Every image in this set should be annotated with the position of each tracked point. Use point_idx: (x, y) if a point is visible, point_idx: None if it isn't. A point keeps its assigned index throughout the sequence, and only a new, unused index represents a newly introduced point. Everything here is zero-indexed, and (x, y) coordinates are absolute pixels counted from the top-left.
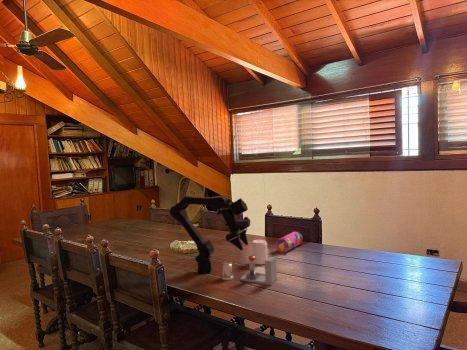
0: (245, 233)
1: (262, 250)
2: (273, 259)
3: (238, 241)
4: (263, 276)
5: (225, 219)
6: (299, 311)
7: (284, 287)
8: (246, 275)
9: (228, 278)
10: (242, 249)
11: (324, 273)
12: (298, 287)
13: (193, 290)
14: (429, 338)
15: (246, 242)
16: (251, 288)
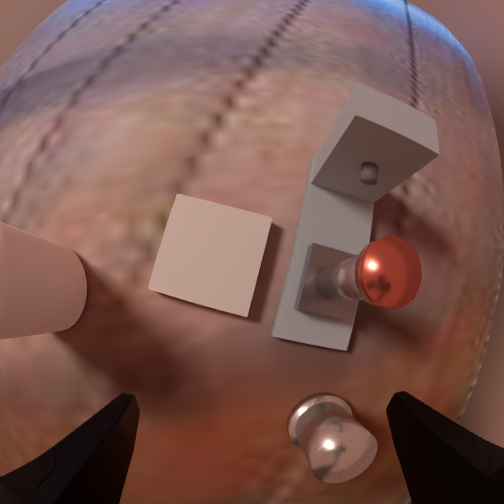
0: (17, 496)
1: (31, 252)
2: (397, 100)
3: (493, 456)
4: (303, 224)
5: None
6: (470, 121)
7: None
8: (351, 317)
9: (350, 409)
10: (403, 395)
11: (203, 30)
12: None
13: None
14: (429, 15)
15: (126, 423)
16: None
